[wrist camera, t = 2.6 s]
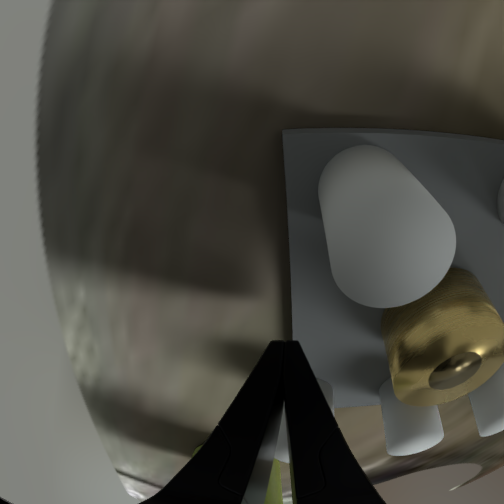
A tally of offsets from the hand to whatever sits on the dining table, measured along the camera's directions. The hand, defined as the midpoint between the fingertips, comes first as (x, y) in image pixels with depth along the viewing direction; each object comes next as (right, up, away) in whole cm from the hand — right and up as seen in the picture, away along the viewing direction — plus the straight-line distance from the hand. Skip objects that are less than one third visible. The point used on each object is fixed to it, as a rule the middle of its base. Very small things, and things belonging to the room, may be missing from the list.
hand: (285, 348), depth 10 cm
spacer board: (+7, +1, 0) cm, 7 cm away
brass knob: (+5, +1, 0) cm, 5 cm away
